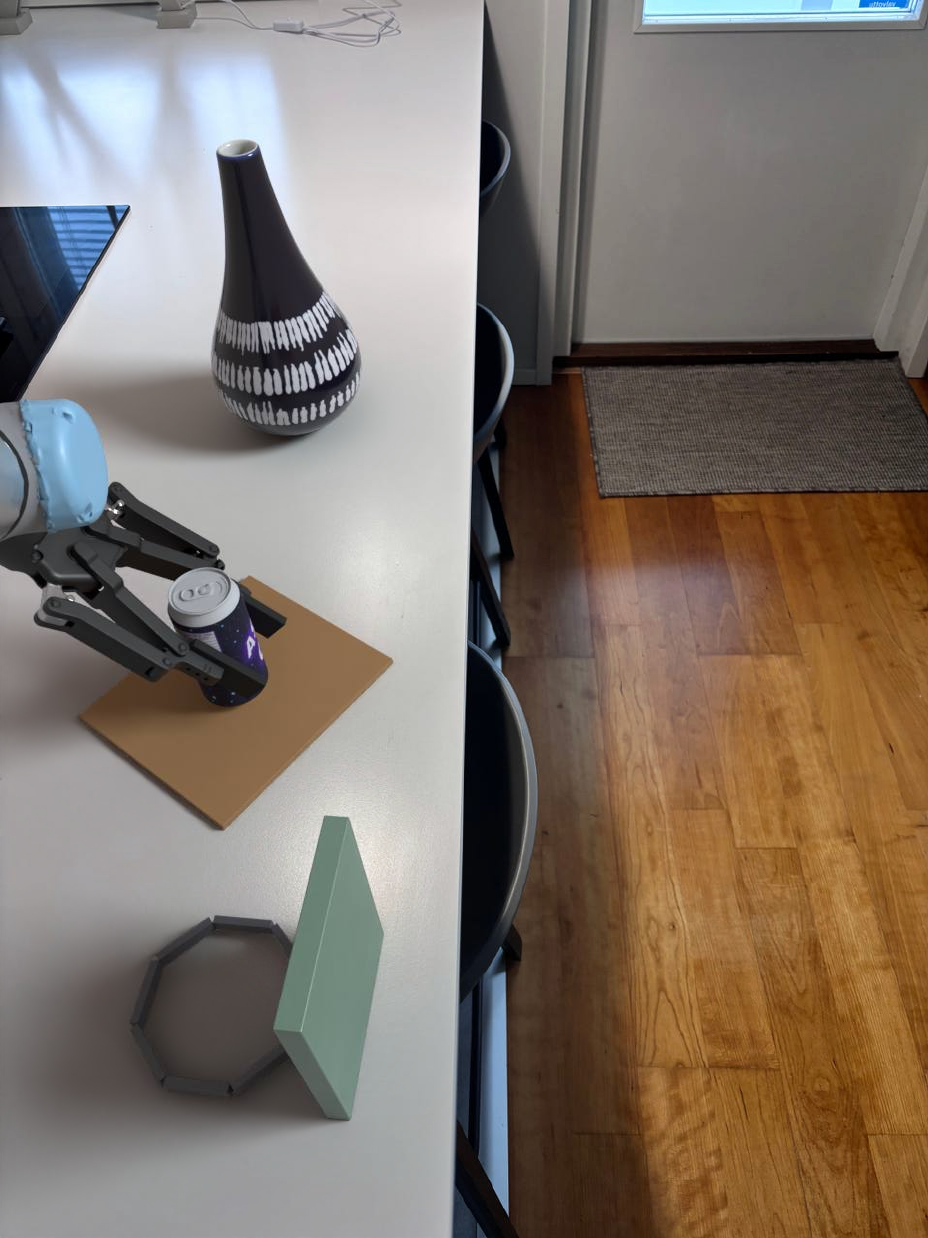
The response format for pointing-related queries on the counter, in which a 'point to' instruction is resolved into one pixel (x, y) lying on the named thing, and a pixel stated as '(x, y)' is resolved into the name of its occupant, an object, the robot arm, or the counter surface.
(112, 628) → the robot arm
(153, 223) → the counter surface
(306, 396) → the vase
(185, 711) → the cork mat
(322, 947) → the green panel with ring
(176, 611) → the beverage can
